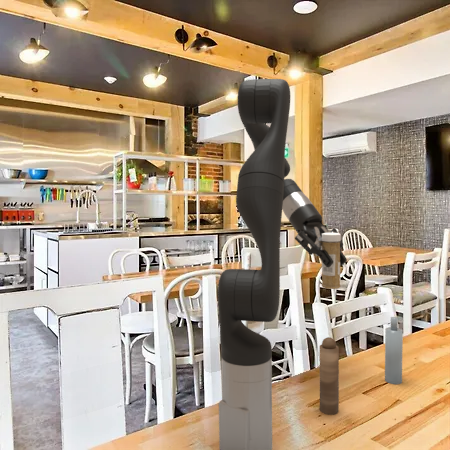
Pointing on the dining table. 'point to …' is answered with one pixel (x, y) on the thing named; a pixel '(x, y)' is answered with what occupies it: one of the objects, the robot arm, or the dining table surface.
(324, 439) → the dining table surface
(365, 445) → the dining table surface
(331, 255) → the sprinkles bottle
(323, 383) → the pepper mill
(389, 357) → the ceramic cruet
